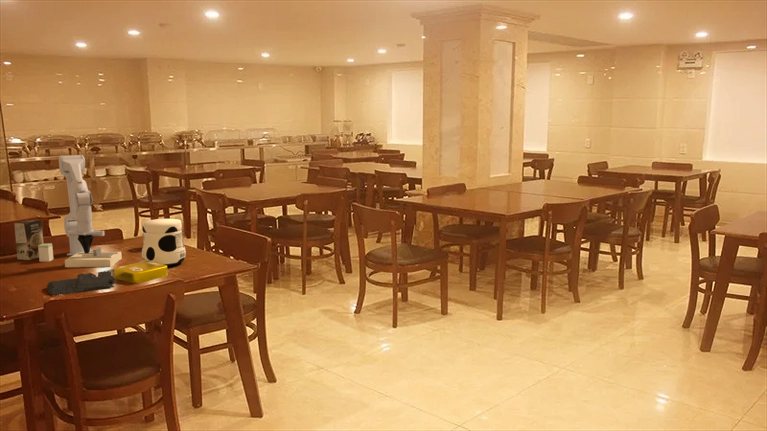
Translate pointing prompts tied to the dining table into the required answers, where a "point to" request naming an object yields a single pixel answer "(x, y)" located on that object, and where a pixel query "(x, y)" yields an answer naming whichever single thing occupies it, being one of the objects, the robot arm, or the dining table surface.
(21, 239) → the coffee box
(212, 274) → the dining table surface
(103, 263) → the socket
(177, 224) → the milk container
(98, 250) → the shutter
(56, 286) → the dark slate chunk
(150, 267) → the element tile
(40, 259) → the plug
